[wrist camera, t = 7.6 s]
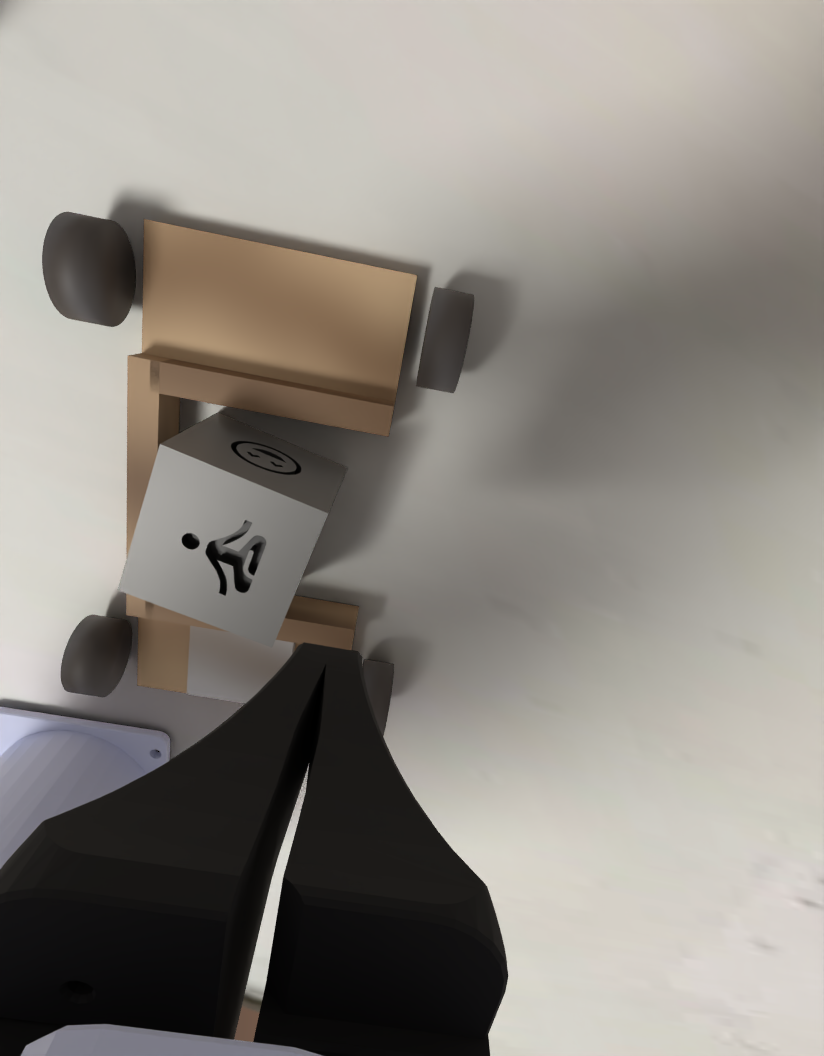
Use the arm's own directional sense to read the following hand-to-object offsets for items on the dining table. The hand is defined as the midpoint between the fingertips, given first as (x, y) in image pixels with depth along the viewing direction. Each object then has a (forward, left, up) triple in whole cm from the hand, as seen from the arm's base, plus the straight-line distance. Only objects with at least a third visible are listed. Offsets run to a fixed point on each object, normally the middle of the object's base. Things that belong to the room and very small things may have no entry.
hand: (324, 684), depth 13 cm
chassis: (0, +4, -10) cm, 11 cm away
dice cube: (0, +4, -10) cm, 11 cm away
